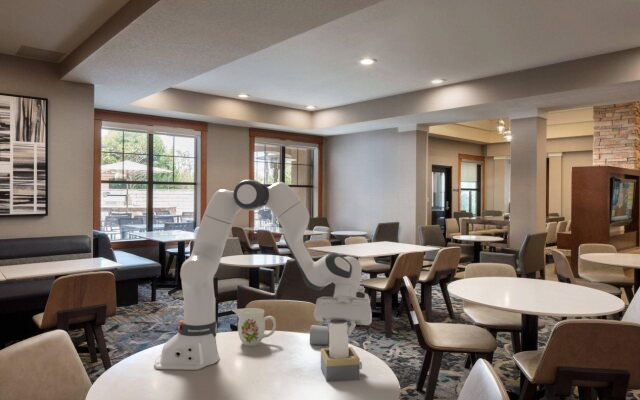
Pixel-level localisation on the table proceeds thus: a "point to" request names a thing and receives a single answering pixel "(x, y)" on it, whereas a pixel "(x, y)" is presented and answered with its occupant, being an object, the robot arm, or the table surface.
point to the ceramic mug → (319, 335)
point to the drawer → (340, 366)
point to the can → (338, 339)
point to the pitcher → (252, 325)
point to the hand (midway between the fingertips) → (339, 333)
